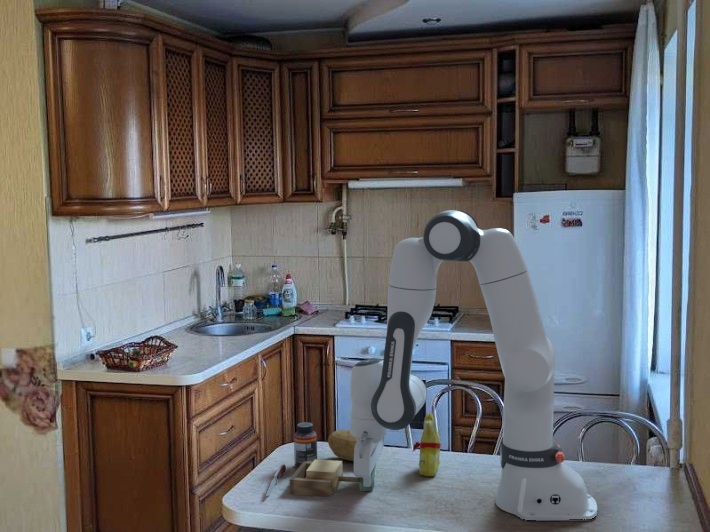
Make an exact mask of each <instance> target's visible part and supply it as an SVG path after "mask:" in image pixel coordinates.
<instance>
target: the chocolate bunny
mask: <svg viewBox="0 0 710 532" xmlns="http://www.w3.org/2000/svg"><path fill="white" fill-rule="evenodd" d="M440 439H441V438H440V435H439V430H438V428H437V426H436V420H435V417H434V415H433V413H427V414H425V417H424V421H423V431H422V434H421V437H420V442H418V441H416V442H415V443H414V444H413V450H412V452H415V451H416V450H417V449H418V448H419V461H418V468H419V474H420V475H421V476H424V477H433V476H436V474H437V472H438V469H439V467H440V462H441V461H440V453H441V444H442V443H441V442H440Z"/></svg>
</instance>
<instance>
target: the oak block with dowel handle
mask: <svg viewBox="0 0 710 532" xmlns="http://www.w3.org/2000/svg"><path fill="white" fill-rule="evenodd" d="M342 463H343V460H331V459H317V460H316V459H315V460H314V461H313V462H312V464H311V465H310V466H309V468H308V469H307V470H306V478H309V479H325V480H332V494H333V493H336V492H337V491H338V489H339V487H341V486H340V485H341V484H342V482H343V483H358V484H359V491H363V492H373V491H374V489H375V478H374V469H373V470H372V472H371V478H372V484H371V486H370V487H365V486H364V485H363V477H355V476H344V475H343V476H342Z"/></svg>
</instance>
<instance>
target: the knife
mask: <svg viewBox="0 0 710 532" xmlns="http://www.w3.org/2000/svg"><path fill="white" fill-rule="evenodd" d="M286 471H287V466H286V464H281V465H280V466H279V468H278V469H277V470H276V472H275V474H274V476H273V479H271V482H270V484H269V487H268V489H267V492H266V493H265V497H268V496H270V495H271V493H272V492H273V490H274V487H275V486H276V485H278V484H279V483H278V480H279V479H280V478H281V476H284V474H285V473H286ZM283 473H284V474H283Z"/></svg>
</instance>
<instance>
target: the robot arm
mask: <svg viewBox="0 0 710 532" xmlns="http://www.w3.org/2000/svg"><path fill="white" fill-rule="evenodd" d="M395 245H396V246H395V248H394V250H393V254H392V258H391V263H390V268H389V276H388V282H387V283H388V285H387V314H386V315H387V316H386V317H387V318H386V335H385V336H386V338H385V344H384V351H383V352H384V353H383V359H382V358H378V357H373V358H367V359H364V360H360V361H359V362H356V363H355V364H354V365H353V367H352V368H351V373H350V378H349V379H350V380H349V399H350V402H351V406H350V407H351V408H350V413H349V420H350V421H349V425H350V426H349V430H350V433H351V435H352V436H354V437H356V441H357V443H356V444H355V449H354V461H353V475H354V477H363V485H364V486H365V487H370V486H371V484H372V478H371V472H372V470H373V469H374V479H375V478H376V467H377V462H378V461H379V458H380V457H381V455H382V452H383V450H384V444H385V436H386V435H388V430H391V431H400V430H403V429H405V428H407V427H408V426H410V424H411V423H412V422H413V420H414V418H415V417H416V415H417V414H418V413H419V412H420V410H421V408H422V407H424V405H425V403H426V401H427V397H428V390H427V386H426V384H425V382H424V381H423V380H422V379H421V378H420V377H419V376H417V375H416V374H412V373H411V372H412V366H413V365H412V363H413V354H414V349H415V345H416V342H417V339H418V338H419V335H420V333H421V332H422V330H423V329H424V327H425V326H426V324H427V323H428V321H429V320H430V318H431V317H432V313H433V309H434V306H435V301H436V295H437V284H438V283H437V282H438V273H439V268H440V266H441V264H442V263H444V262H469V263H470V264H471V265H472V266H473V268H474V270H475V273H476V277H477V280H478V282H479V287H480V289H481V294H482V297H483V300H484V303H485V306H486V310H487V313H488V316H489V320H490V324H491V328H492V329H491V330H492V333H493V338H494V343H495V347H496V351H497V355H498V358H499V359H498V360H499V363H500V366H501V370H502V374H503V376H504V393H503V394H504V396H503V406H502V408H503V411H502V412H503V413H502V417H503V420H502V421H503V422H502V425H503V426H502V441H501V443H500V451H499V453H500V455H499V456H500V457H499V460H500V467H501V473H500V480H499V484H498V486H499V487H498V490H497V494H496V497H495V500H494V501H495V502H494V503H495V505H496V506H497V508H499V509H501V510H502V511H505V512H507V513H510V514H512V515H515V516H517V517H518V518H519V517H520V519H521V518H522V519H521V520H523V519H525V520H524V521H527V520H536V521H570V520H569V519H583V520H582V521H587V520H586V519H592V518H594V517H595V516H596V517H597V515H598V512H597V511H598V503H597V501H596V499H595V498H594V497H593V496H592V495H591V494H589V493H588V490H587V486H586V483H585V481H584V479H583V477H582V476H581V475H580V473H578V472H576V471H575V470H574V469H572V467H570V466H569V465H567V464H566V463H565V461H566V458H565V453H564V452H563V450H562V448H561V447H560V444H555V443H554V403H555V401H554V400H555V399H554V398H555V395H554V394H555V360H556V357H555V356H556V355H555V354H556V353H555V349H554V345H553V343H552V342H551V340H550V339H549V338H548V336H547V335H546V332H545V326H544V323H543V319H542V315H541V311H540V307H539V303H538V300H537V297H536V294H535V290H534V287H533V282H532V280H531V276H530V273H529V271H528V267H527V264H526V261H525V258H524V256H523V253H522V251H521V249H520V247H519V245H518V242H517V241H516V239H515V237H514V236H513V234H512V233H511V231H509V230H507V229H506V228H500V227H495V228H494V227H493V228H489V229H480V228H479V225H478V223H477V221H476V220H475V218H474V217H473V216H472V215H471V214H469V213H468V212H466V211H463V210H456V209H455V210H452V209H449V210H448V209H447V210H444V211H442V212H439V213H438V214H436V215H433V217H431V218H430V219H429V220H428V222H426V224H425V227H424V229H423V234H422V237H408V238H405V239H402V240H400V241H399V242H397V244H395ZM596 517H595V518H596ZM595 518H594V519H595ZM584 519H585V520H584ZM592 520H593V519H592Z"/></svg>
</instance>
